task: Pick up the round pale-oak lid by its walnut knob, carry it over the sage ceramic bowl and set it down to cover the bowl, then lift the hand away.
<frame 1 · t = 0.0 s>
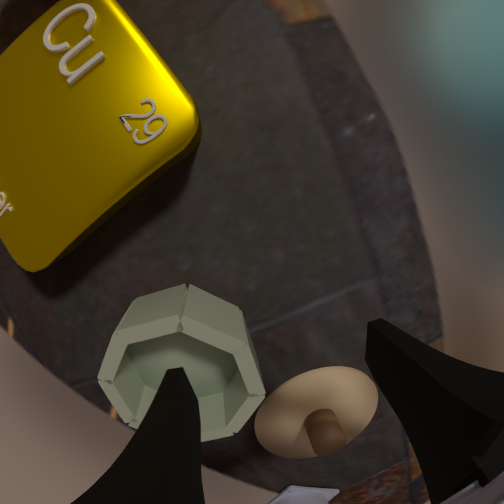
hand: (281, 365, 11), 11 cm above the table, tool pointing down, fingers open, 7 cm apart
lid: (317, 414, 26), on the table
bowl: (184, 350, 22), on the table
element tile: (72, 124, 18), on the table
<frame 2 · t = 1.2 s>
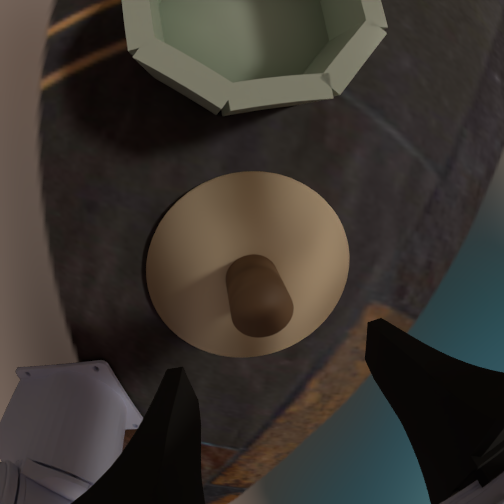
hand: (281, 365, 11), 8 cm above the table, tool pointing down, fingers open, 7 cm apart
lid: (249, 272, 18), on the table
bowl: (243, 22, 12), on the table
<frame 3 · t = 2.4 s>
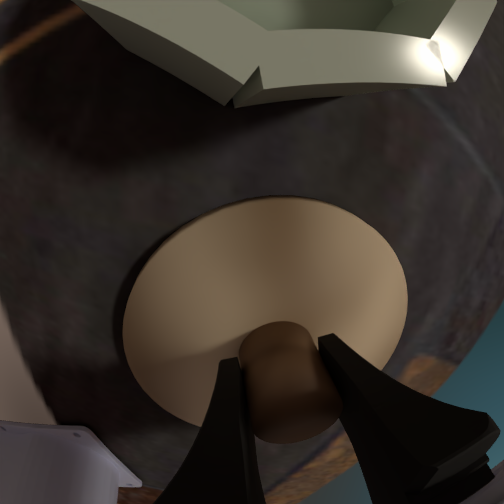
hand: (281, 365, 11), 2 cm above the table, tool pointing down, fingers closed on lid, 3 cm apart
lid: (272, 339, 13), on the table, touching gripper
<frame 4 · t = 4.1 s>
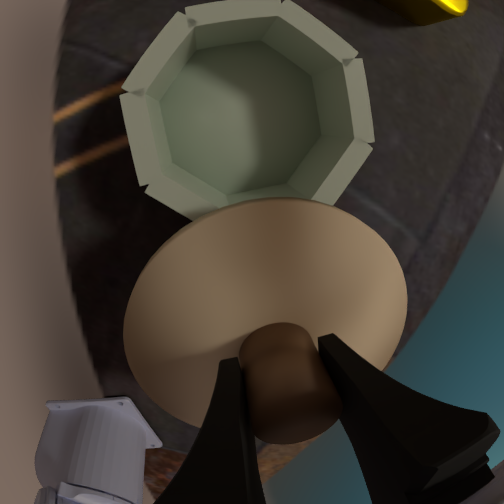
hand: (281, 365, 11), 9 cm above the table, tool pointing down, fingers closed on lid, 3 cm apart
lid: (272, 340, 13), point 7 cm above the table, touching gripper
bowl: (240, 116, 16), on the table
when the fingers open (8 cm above the table, at t = 5.8 s): lid drops 1 cm, resting on bowl.
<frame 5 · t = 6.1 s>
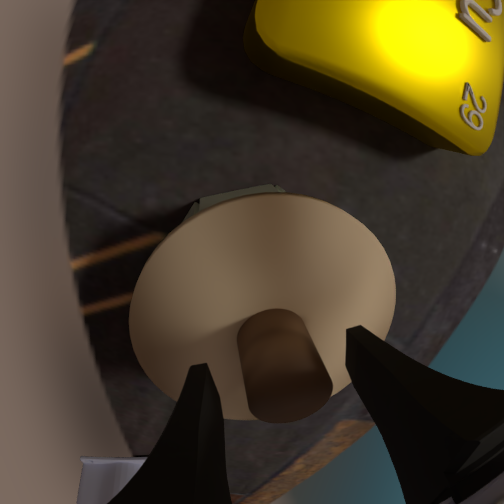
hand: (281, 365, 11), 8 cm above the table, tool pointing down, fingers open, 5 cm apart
lid: (268, 326, 14), point 5 cm above the table, touching bowl
bowl: (251, 274, 18), on the table
element tile: (383, 11, 13), on the table
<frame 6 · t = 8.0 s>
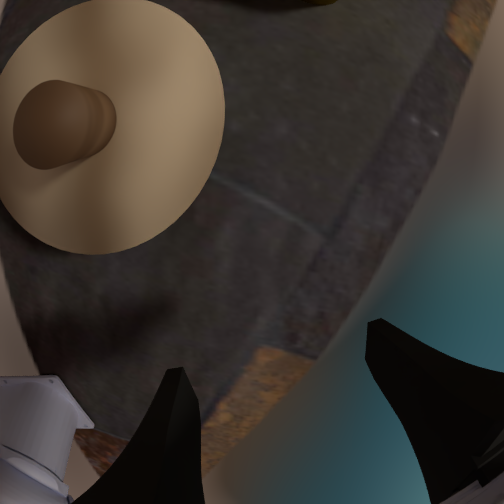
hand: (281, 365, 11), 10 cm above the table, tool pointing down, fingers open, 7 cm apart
lid: (90, 122, 11), point 5 cm above the table, touching bowl
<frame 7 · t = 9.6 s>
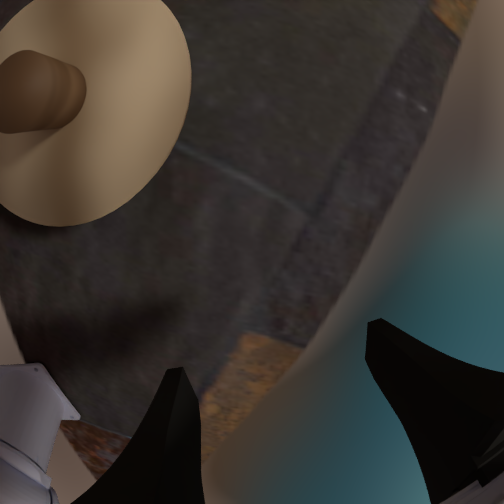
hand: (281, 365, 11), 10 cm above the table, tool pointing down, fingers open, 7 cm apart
lid: (64, 97, 11), point 5 cm above the table, touching bowl
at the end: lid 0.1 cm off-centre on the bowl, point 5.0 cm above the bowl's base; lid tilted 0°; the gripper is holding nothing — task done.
